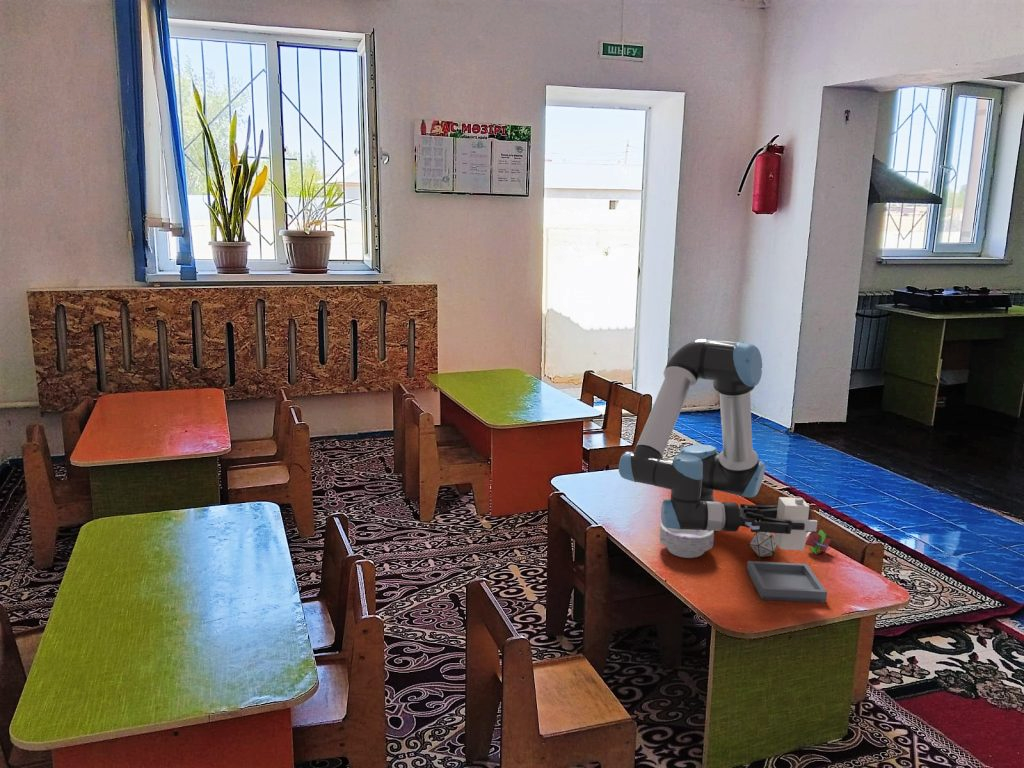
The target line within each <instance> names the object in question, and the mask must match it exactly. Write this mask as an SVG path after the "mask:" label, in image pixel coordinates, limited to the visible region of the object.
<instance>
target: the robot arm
mask: <svg viewBox="0 0 1024 768" xmlns="http://www.w3.org/2000/svg"><path fill="white" fill-rule="evenodd" d="M762 368H763V359H762V354H761V352H760V349H759V348H758V347H757V346H756V345H755V344H751V343H745V342H743V341H738V342H736V341H728V340H721V339H720V340H719V339H712V338H705V337H702V338H698V339H693V340H691V341H690V342H688V343H686V344H685V345H683V346H682V347H680V348H679V349H677V351H676V352H675V353H674V354H673V355H672V356H671V358H670V359H668V362H667V364H666V366H665V368H664V370H663V377H664V380H663V382H662V384H661V386H660V389H659V391H658V394H657V396H656V398H655V401H654V403H653V405H652V408H651V410H650V413H649V415H648V418H647V420H646V423H645V424H644V427H643V429H642V431H641V433H640V436H639V439H638V441H637V444H636V445H635V448H634V450H633V451H624V453H623V454H622V455H621V456H620V459H619V462H618V473H619V475H620V477H621V478H623V479H624V480H628V481H631V482H633V483H640V484H644V485H649V486H655V487H656V488H657V487H658V488H663V489H666V490H670V498H667V499H663V501H661V507H660V517H661V518H660V519H661V523H662V524H663V526H664V527H666V528H673V529H679V530H681V529H688V530H708V531H709V532H711V530H713V531H714V532H715V531H719V532H720V531H721V530H722V531H723V532H731V533H732V532H734V533H735V532H737V531H738V530H739V528H740V527H744V528H747V529H750V532H751V533H756V532H768V533H772V534H775V533H782V534H791V530H798V531H807V532H812V531H813V532H817V530H818V529H817V528H818V520H815V519H808V520H799V519H791V520H790V521H789V520H782V519H776V518H777V509H778V505H777V504H776V505H770V504H768V505H765V504H746V503H740V506H739V504H738V503H736V502H730V501H729V502H728V501H727V502H726V501H724V502H721V501H716V500H715V497H714V491H718V492H723V493H726V494H731V495H735V496H739V497H745V498H746V497H747V498H754V497H756V496H757V495H758V493H759V491H760V489H761V486H762V483H763V480H764V477H765V472H766V463H765V462H764V461H762V460H759V455H758V453H757V451H756V450H754V448H753V435H752V434H753V429H752V427H753V426H752V407H751V406H752V404H751V392H752V391H753V390H754V389H755V387H756V386H757V385H759V383H760V382H761V378H762V373H763V369H762ZM701 379H702V380H707V381H712V385H713V386H712V387H713V389H714V390H715V392H716V393H718V394H719V404H720V405H719V407H720V408H719V409H720V422H721V438H722V450H721V451H720V453H718V448H717V447H716V446H713V445H710V444H693V445H687V446H684V447H683V448H681V450H680V451H679V454H677V455H675V456H674V458H673V460H670V459H667V458H663V456H664V453H665V450H666V448H667V445H668V442H669V440H670V438H671V436H672V433H673V430H674V428H675V426H676V423H677V421H678V419H679V417H680V413H681V411H682V409H683V406H684V403H685V401H686V399H687V397H688V394H689V391H690V390H691V388H694V387H695V386H696V384H697V382H698V380H701Z"/></svg>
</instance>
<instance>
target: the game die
mask: <svg viewBox="0 0 1024 768" xmlns="http://www.w3.org/2000/svg"><path fill="white" fill-rule="evenodd" d="M773 534H774V533H768V532H754V534H753V537H752V539H751V541H750V543H746V546H749V547H750V548H751V549H752V550H753V551H754V553H755V554H756V555H757V556H758V557H757V559H759V560H760V559H761V558H764V557H770V556H771V558H773V557H774V558H775V552H776V550H777V548H778V547H779V546H778V545H777V543H776V542H775V540H774V537H775V535H773Z"/></svg>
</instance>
